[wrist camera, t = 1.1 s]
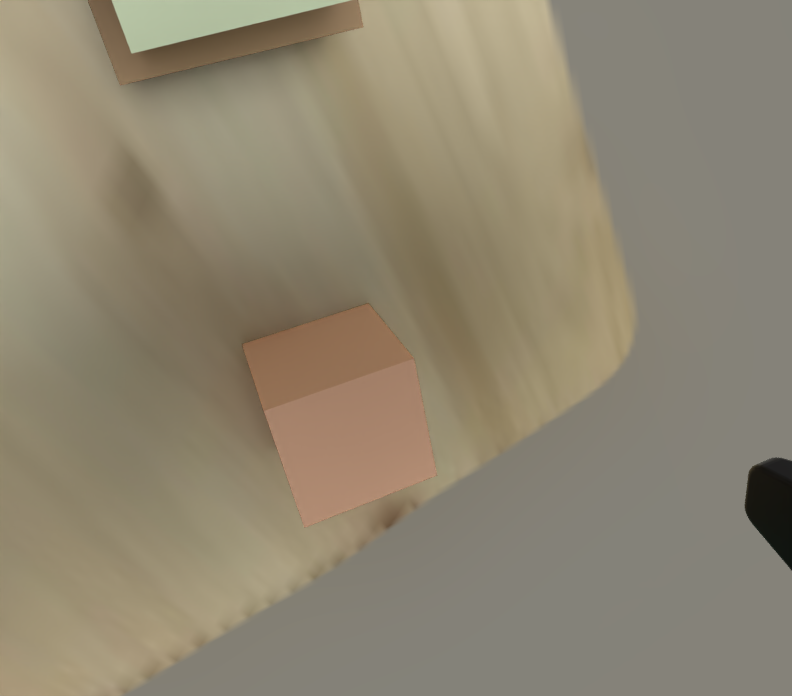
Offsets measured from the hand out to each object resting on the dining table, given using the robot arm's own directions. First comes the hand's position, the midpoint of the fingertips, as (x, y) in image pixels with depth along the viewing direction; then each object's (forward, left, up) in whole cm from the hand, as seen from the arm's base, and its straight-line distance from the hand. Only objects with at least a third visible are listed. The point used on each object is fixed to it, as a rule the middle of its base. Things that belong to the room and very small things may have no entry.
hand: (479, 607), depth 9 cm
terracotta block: (-2, -2, -12) cm, 13 cm away
